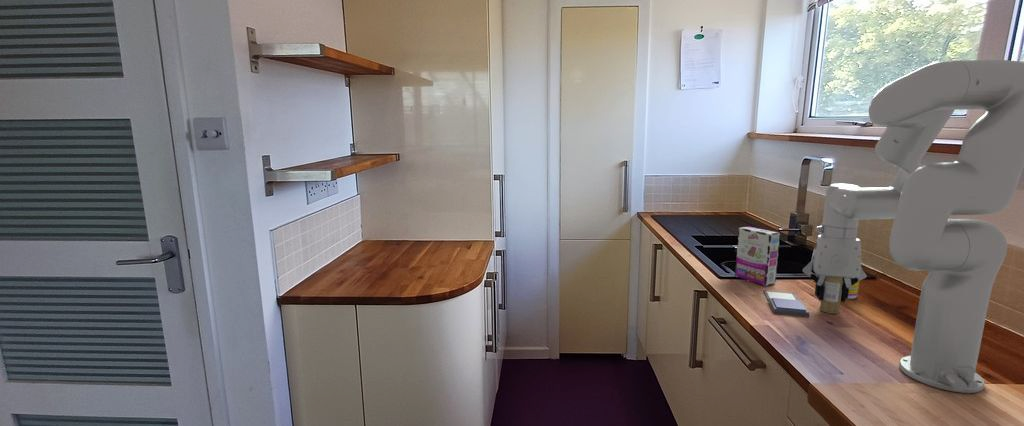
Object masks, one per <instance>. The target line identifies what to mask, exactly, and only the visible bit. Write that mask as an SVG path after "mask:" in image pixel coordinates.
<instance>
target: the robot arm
mask: <svg viewBox="0 0 1024 426" xmlns="http://www.w3.org/2000/svg"><path fill="white" fill-rule="evenodd" d="M956 110H960V111H962V110H982V111H985V113H984V114H983V115H982V116H981V117H980V118H978V119H977V120H976V121H975V122H974V123H973V124H972V125H971V127H970V128H969V129H968V131H967V132H966V134H965V135H964V137H963V139H962V143H961V147H960V151H959V153H958V156H957V158H956V159H955V160H954V161H953V162H952V161H950V162H949V161H948V162H947V161H945V162H943V161H942V162H931V163H926V164H924V165H922V163H921V162H922V159H923V158H924V156H925V155H926V153H927V152H928V150H929V148H930V147H931V145H932V144H933V143H934V142H935V140H936V139H937V137H938V135H939V134H940V133H941V131H942V130H943V128H944V127H945V126H946V124H947V123H948V121H949V120H950V118H951V117H952V116H953V113H954V112H955V111H956ZM868 116H869V117H868V118H869V120H870V121H871V123H873V124H874V125H876V126H878V127H883V128H885V130H884V131H883V133H882V134H881V136H880V138H879V140H878V141H877V143H876V144H875V147H874V150H875V154H876V156H877V157H878V158H879V159H880V160H882V161H884V162H885V163H887V164H889V165H892V166H893V167H896V168H899V169H898V173H897V174H896V176H895V178H894V180H893V181H891V184H890V185H889V186H887V187H882V186H881V187H879V186H878V187H861V186H859V185H857V184H851V183H831V184H830V185H827V187H826V191H825V197H824V198H825V199H824V208H823V216H822V217H823V218H822V223H821V225H819V226H815V228H814V229H815V232H818V233H820V234H818V235H817V238H816V240H815V244H814V248H813V252H812V256H811V261H809V262H808V264H806V265H805V266H804V267H803V268H802V272H803V274H805V275H806V276H808V278H811V280H812V281H813V282H814V283H815V289H814V296H816V298H817V299H818V300H819V301H821V300H823V295H824V286H823V281H824V279H825V276H831V277H843V283H842V295H841V301H840V303H841V302H842V303H844V304H845V303H846V300H848V299H847V298H848V292H849V288H851V286H852V285H854V284H855V283H857V282H858V281H859V282H860V281H862V280H864V279H866V278H868V275H867V274H866V273H865V271H864V269H863V268H862V243H861V239H860V238H858V237H857V236H858V235H857V234H858V228H859V220H891V219H893V223H892V225H891V229H890V235H889V241H888V248H889V252H890V256H891V258H892V259H893V261H894V262H895V263H896V264H897V265H898V266H900V267H901V268H904V269H906V270H911V271H919V272H920V271H922V272H923V271H925V272H927V271H929V273H928V274H927V276H926V277H925V279H924V281H923V283H922V286H921V292H920V296H919V302H918V307H917V308H918V310H917V315H916V320H915V327H914V332H913V333H914V334H913V338H912V346H911V351H910V355H906V356H903V357H901V358H900V360H899V364H898V367H899V369H900V370H901V371H902V373H904V374H905V375H906V376H908V377H910V378H912V379H914V380H915V381H918V382H919V383H922V384H923V385H924V384H925V385H927V386H929V387H933V388H937V389H940V390H945V391H948V392H953V393H954V392H955V393H963V394H972V393H979V392H981V391H983V390H984V388H985V384H986V383H985V379H984V378H983V377H982V376H981V375H980V374H978V373H977V372H976V370H977V365H978V359H979V355H980V350H981V345H982V338H983V333H984V328H985V322H986V318H987V312H988V308H989V302H990V299H991V294H992V290H993V285H994V283H995V280H996V277H997V275H998V273H999V271H1000V268H1001V267H1002V265H1003V263H1004V261H1005V258H1006V256H1007V251H1008V242H1007V241H1008V240H1007V238H1006V236H1005V234H1004V232H1003V231H1002V230H1001V229H1000V228H999V227H997V226H996V225H995V224H992V223H990V222H988V221H986V220H985V221H984V220H981V219H976V218H975V219H973V218H950V216H979V215H980V216H982V215H991V214H996V213H1000V212H1002V211H1004V210H1005V209H1007V208H1008V206H1009V205H1010V204H1011V202H1012V201H1013V199H1014V196H1015V193H1016V191H1017V188H1018V186H1019V185H1018V184H1019V181H1020V178H1021V176H1022V173H1023V170H1024V62H1023V61H1018V60H1008V59H979V60H977V59H975V60H972V59H970V60H969V59H968V60H965V59H964V60H942V61H936V62H932V63H929V64H927V65H924V66H922V67H920V68H918V69H916V70H913V71H912V72H909V73H908V74H906V75H904V76H901V77H900V78H897V79H895V80H894V81H892V82H889V83H887V84H886V85H885V86H883V87H882V88H881V89H880V90H878V91H877V92H876V93H875V94H874V96H873V98H872V99H871V101H870V104H869V107H868ZM812 270H813V272H814V273H813V272H812Z"/></svg>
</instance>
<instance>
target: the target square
mask: <svg viewBox="0 0 1024 426" xmlns="http://www.w3.org/2000/svg"><path fill="white" fill-rule="evenodd" d="M763 293H764V295H765V298H766V300H767V301H768V302H769V298H779V299H790V300H799V298H798V297H797V295H796V293H794V292H787V291H786V292H785V291H775V290H764V289H763Z"/></svg>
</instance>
